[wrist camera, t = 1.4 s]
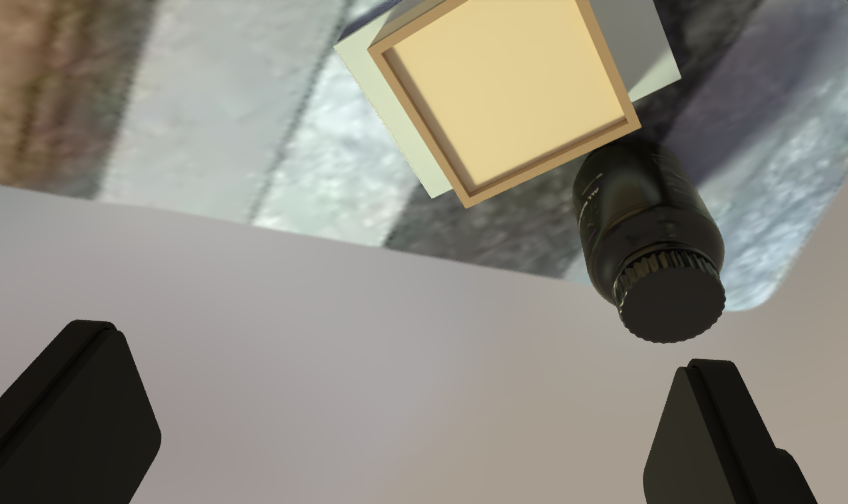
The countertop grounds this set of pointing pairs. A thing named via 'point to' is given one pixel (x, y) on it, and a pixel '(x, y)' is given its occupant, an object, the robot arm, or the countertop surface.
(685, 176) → the supplement bottle
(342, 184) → the countertop surface
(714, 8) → the countertop surface
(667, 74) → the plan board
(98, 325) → the robot arm
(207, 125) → the countertop surface
